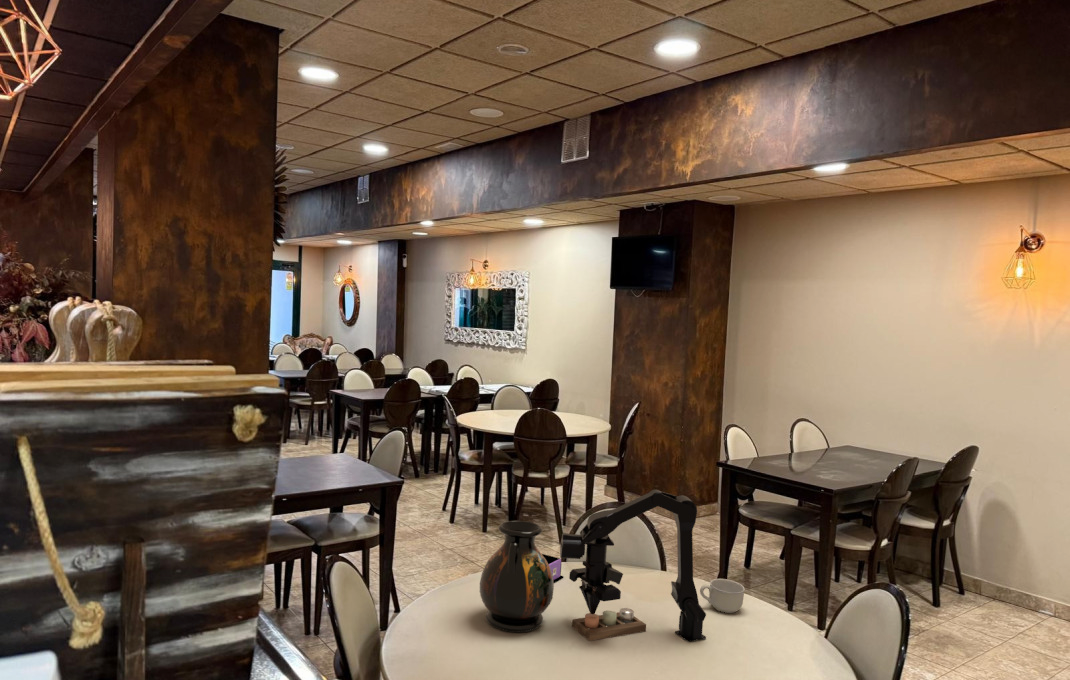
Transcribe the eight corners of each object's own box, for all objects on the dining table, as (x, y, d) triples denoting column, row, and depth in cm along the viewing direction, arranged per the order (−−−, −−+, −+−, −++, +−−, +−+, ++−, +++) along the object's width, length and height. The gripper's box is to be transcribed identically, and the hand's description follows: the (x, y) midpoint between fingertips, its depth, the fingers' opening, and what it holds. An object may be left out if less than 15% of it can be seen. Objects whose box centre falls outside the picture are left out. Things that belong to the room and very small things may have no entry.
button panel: (645, 631, 204) (646, 624, 204) (589, 640, 196) (590, 633, 196) (626, 617, 213) (626, 611, 213) (571, 626, 204) (572, 619, 204)
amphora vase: (544, 643, 192) (550, 541, 192) (468, 631, 196) (474, 531, 196) (557, 613, 213) (563, 520, 213) (488, 603, 218) (494, 512, 217)
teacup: (739, 604, 230) (741, 580, 230) (746, 618, 219) (748, 592, 219) (696, 600, 231) (697, 576, 231) (700, 613, 220) (702, 588, 220)
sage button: (618, 625, 203) (619, 615, 203) (607, 627, 202) (607, 616, 202) (611, 620, 207) (611, 609, 207) (599, 621, 205) (600, 611, 205)
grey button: (635, 622, 206) (636, 612, 206) (624, 624, 204) (625, 614, 204) (627, 617, 210) (628, 607, 210) (616, 619, 208) (617, 609, 208)
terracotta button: (601, 628, 201) (601, 617, 201) (589, 630, 199) (589, 619, 199) (593, 622, 204) (594, 612, 204) (581, 624, 202) (582, 614, 202)
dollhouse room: (564, 578, 245) (566, 558, 245) (547, 587, 234) (548, 567, 234) (535, 570, 251) (536, 551, 251) (517, 579, 241) (518, 559, 241)
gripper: (638, 567, 197) (634, 622, 197) (602, 547, 213) (598, 598, 214) (604, 571, 192) (600, 628, 192) (570, 550, 208) (566, 602, 208)
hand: (592, 613), depth 202 cm, fingers closed
